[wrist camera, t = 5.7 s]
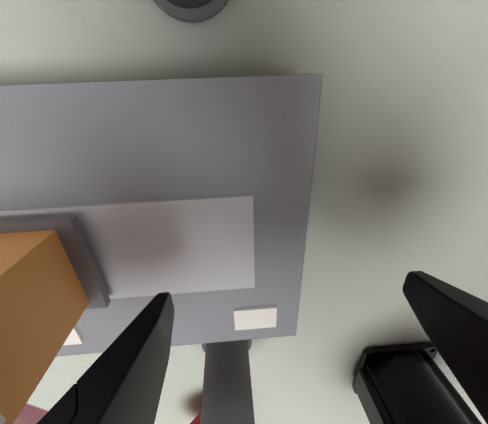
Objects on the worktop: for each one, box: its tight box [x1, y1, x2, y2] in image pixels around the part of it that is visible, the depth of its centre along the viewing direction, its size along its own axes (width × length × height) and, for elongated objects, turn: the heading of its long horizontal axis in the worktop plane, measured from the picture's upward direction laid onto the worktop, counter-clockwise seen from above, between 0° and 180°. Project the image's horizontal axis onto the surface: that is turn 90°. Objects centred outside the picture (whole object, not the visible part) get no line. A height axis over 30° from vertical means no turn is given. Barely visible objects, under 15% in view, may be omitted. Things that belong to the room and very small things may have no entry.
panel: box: [0, 74, 322, 356], centre depth 12 cm, size 16×14×3 cm
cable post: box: [200, 339, 255, 424], centre depth 16 cm, size 4×4×8 cm
